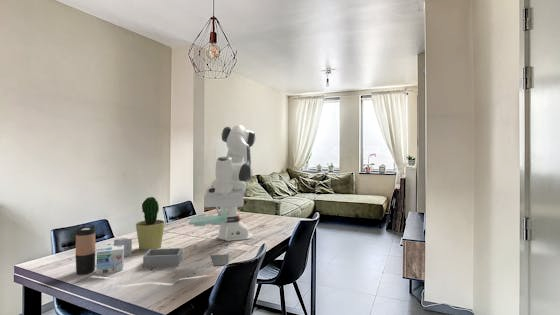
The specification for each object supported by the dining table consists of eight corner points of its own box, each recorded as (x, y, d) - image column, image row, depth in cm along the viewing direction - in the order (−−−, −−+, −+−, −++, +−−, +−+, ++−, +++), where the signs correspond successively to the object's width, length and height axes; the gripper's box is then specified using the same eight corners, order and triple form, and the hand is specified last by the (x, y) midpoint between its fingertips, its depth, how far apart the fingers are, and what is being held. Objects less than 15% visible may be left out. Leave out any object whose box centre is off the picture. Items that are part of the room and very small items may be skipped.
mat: (228, 255, 163) (228, 254, 163) (228, 265, 148) (228, 264, 148) (192, 256, 160) (192, 255, 160) (188, 267, 145) (188, 266, 145)
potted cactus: (158, 242, 184) (158, 193, 183) (169, 248, 173) (169, 196, 172) (131, 247, 173) (131, 195, 173) (141, 254, 162) (141, 198, 162)
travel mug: (80, 276, 133) (80, 231, 133) (72, 272, 137) (72, 228, 137) (98, 270, 139) (98, 227, 139) (90, 267, 143) (90, 225, 143)
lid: (227, 218, 162) (227, 207, 162) (226, 224, 148) (226, 212, 148) (192, 220, 159) (192, 209, 159) (188, 226, 145) (188, 214, 145)
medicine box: (132, 255, 161) (132, 238, 161) (125, 257, 157) (125, 241, 157) (120, 253, 164) (120, 237, 164) (113, 256, 159) (113, 239, 159)
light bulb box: (95, 276, 134) (96, 251, 133) (98, 270, 140) (98, 247, 140) (123, 272, 138) (123, 248, 138) (124, 267, 144) (124, 244, 144)
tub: (182, 259, 155) (182, 248, 155) (178, 267, 144) (178, 255, 144) (149, 261, 152) (149, 249, 152) (143, 269, 142) (143, 256, 141)
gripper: (244, 187, 159) (244, 213, 159) (204, 188, 156) (204, 214, 156) (244, 189, 153) (244, 216, 153) (203, 189, 150) (203, 217, 150)
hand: (223, 215), depth 154 cm, fingers closed on lid, 3 cm apart
